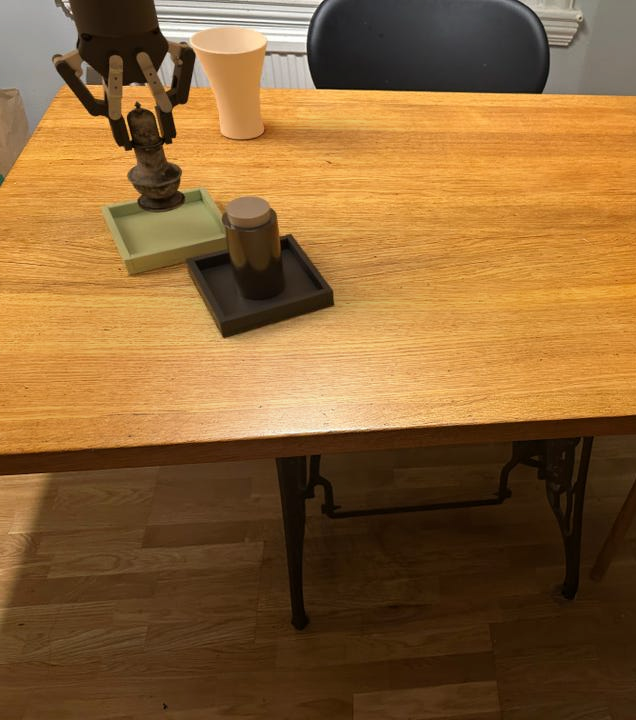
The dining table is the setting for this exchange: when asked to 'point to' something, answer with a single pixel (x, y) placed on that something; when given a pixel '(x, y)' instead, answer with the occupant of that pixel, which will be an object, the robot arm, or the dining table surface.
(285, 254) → the dark tray
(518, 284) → the dining table surface
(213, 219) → the light tray
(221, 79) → the cup
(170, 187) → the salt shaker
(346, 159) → the dining table surface
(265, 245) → the brown jar with lid
